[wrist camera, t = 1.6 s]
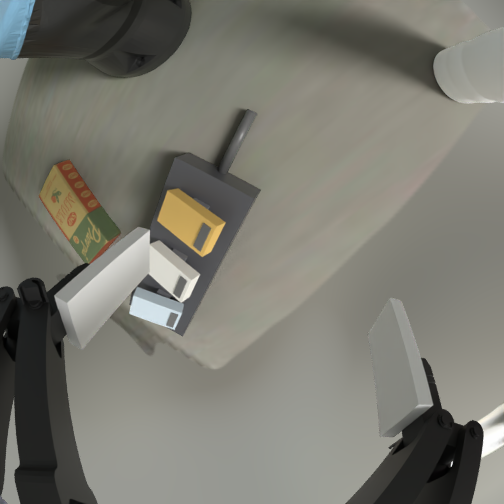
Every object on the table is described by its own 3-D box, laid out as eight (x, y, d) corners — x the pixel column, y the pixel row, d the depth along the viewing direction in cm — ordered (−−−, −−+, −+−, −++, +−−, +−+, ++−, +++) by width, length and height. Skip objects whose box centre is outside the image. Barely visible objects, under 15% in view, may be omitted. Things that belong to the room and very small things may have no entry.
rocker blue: (132, 304, 37) (129, 314, 35) (137, 286, 35) (133, 296, 34) (176, 320, 39) (174, 330, 37) (183, 303, 37) (181, 314, 35)
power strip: (141, 290, 44) (126, 307, 40) (216, 94, 28) (201, 90, 24) (191, 320, 44) (180, 339, 40) (293, 131, 28) (290, 133, 24)
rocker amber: (167, 217, 31) (156, 220, 30) (178, 188, 29) (166, 190, 28) (211, 251, 30) (201, 257, 29) (225, 222, 28) (215, 226, 27)
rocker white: (151, 263, 35) (141, 268, 33) (159, 240, 33) (148, 244, 31) (189, 296, 34) (180, 303, 32) (200, 274, 32) (190, 280, 30)
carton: (71, 158, 36) (52, 163, 32) (123, 231, 40) (108, 243, 36) (53, 189, 39) (36, 196, 35) (101, 256, 43) (86, 268, 39)
